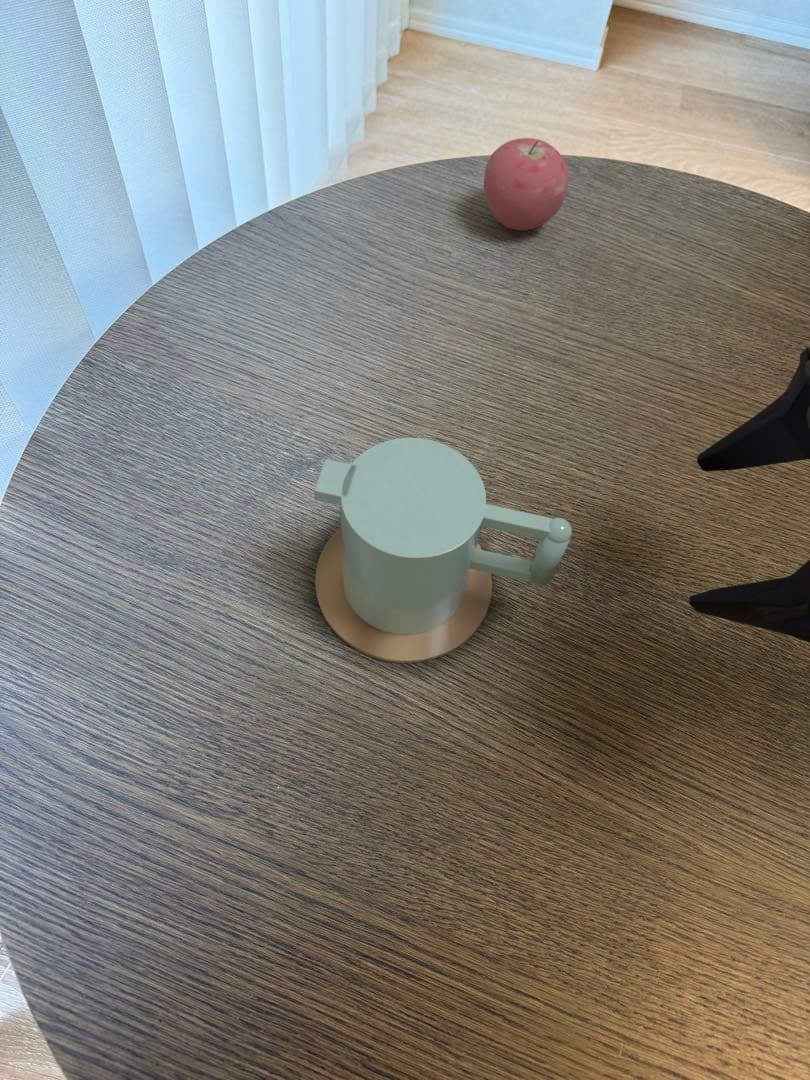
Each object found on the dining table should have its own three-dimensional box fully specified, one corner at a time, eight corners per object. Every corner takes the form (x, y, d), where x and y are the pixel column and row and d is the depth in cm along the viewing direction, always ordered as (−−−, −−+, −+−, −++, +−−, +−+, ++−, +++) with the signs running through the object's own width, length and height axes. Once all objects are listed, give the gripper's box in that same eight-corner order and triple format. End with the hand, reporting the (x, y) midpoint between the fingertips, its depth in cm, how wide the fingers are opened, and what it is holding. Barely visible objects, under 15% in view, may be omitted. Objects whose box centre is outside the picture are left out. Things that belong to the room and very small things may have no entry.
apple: (537, 190, 79) (555, 110, 73) (569, 239, 76) (590, 160, 69) (466, 202, 78) (477, 121, 71) (494, 253, 74) (509, 173, 67)
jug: (307, 614, 54) (298, 530, 45) (340, 510, 58) (338, 416, 50) (530, 665, 53) (566, 590, 44) (547, 556, 57) (583, 468, 49)
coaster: (510, 536, 58) (511, 533, 58) (463, 687, 52) (464, 685, 52) (351, 488, 60) (351, 485, 60) (288, 629, 54) (287, 627, 53)
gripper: (977, 163, 34) (636, 310, 45) (1062, 528, 25) (601, 609, 35) (1036, 340, 41) (725, 433, 51) (1122, 687, 31) (716, 716, 41)
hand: (696, 530), depth 44 cm, fingers open, 9 cm apart
